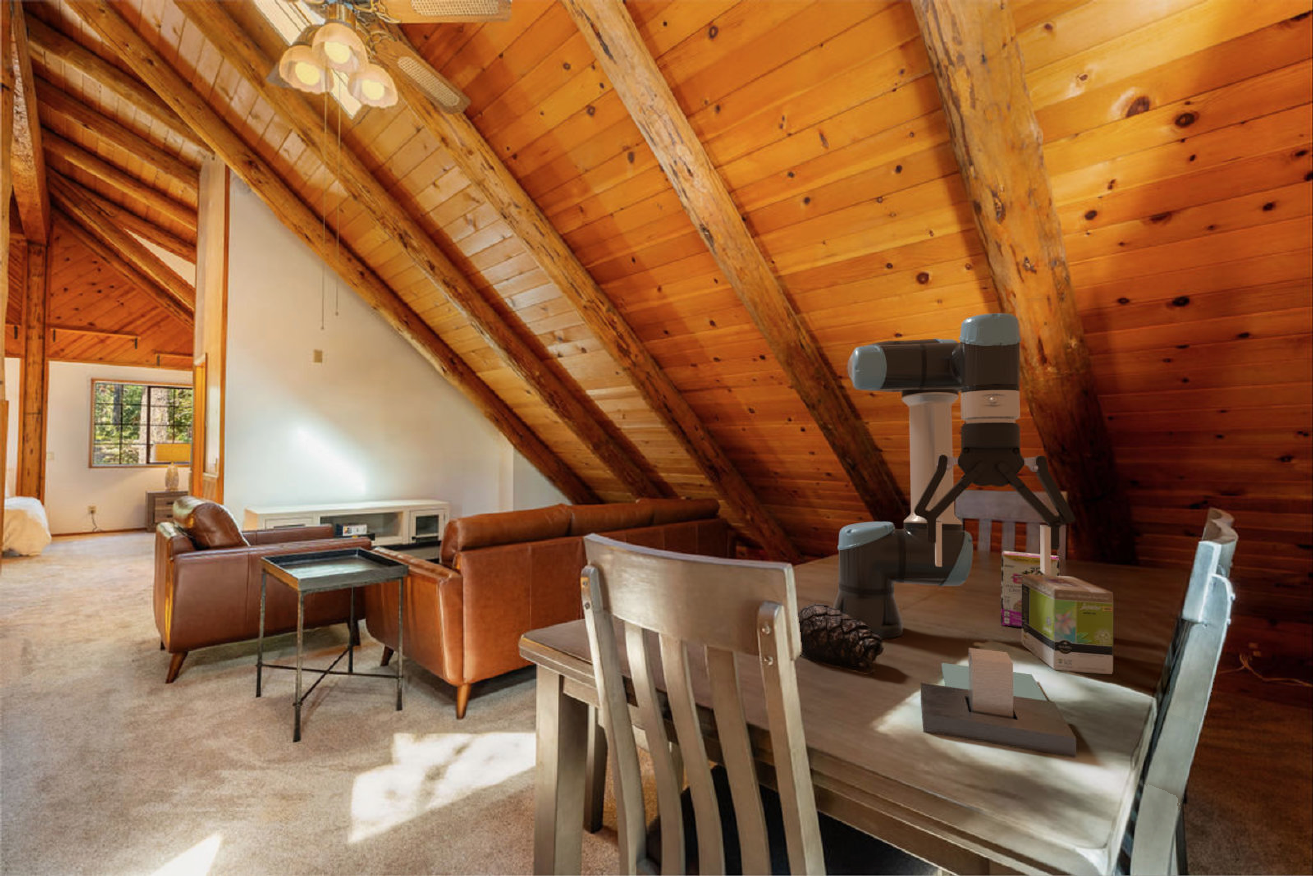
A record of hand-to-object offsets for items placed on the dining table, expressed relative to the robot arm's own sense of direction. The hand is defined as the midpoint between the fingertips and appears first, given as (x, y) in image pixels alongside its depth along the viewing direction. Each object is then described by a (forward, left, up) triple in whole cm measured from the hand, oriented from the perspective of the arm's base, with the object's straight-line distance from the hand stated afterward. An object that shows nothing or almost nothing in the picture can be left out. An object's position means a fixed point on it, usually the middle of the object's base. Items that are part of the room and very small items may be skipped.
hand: (990, 569), depth 86 cm
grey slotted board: (0, 0, -22) cm, 22 cm away
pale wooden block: (0, 0, -22) cm, 22 cm away
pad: (+2, +16, -22) cm, 28 cm away
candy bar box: (+15, +58, -23) cm, 64 cm away
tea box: (+17, +37, -23) cm, 47 cm away
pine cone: (-23, +19, -23) cm, 38 cm away
